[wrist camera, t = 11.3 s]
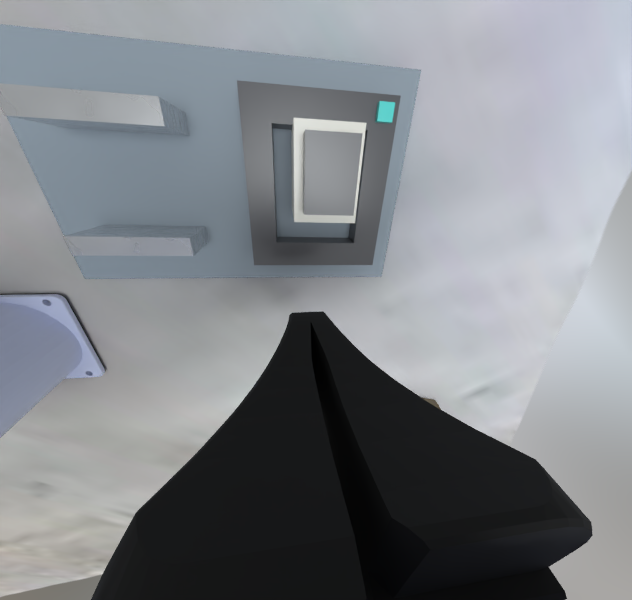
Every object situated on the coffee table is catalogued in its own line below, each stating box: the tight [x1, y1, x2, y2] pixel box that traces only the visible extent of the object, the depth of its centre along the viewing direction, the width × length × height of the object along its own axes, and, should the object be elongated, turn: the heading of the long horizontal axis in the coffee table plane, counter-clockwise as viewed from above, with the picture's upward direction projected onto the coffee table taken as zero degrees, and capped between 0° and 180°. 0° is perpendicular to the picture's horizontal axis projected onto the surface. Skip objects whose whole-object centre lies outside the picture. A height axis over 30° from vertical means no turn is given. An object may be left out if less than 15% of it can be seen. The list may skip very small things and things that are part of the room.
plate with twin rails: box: [0, 83, 209, 256], centre depth 12 cm, size 6×7×3 cm
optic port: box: [237, 80, 401, 265], centre depth 14 cm, size 8×9×2 cm
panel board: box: [0, 24, 421, 279], centre depth 14 cm, size 21×12×1 cm, turn 88°
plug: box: [291, 118, 366, 223], centre depth 12 cm, size 3×4×6 cm
